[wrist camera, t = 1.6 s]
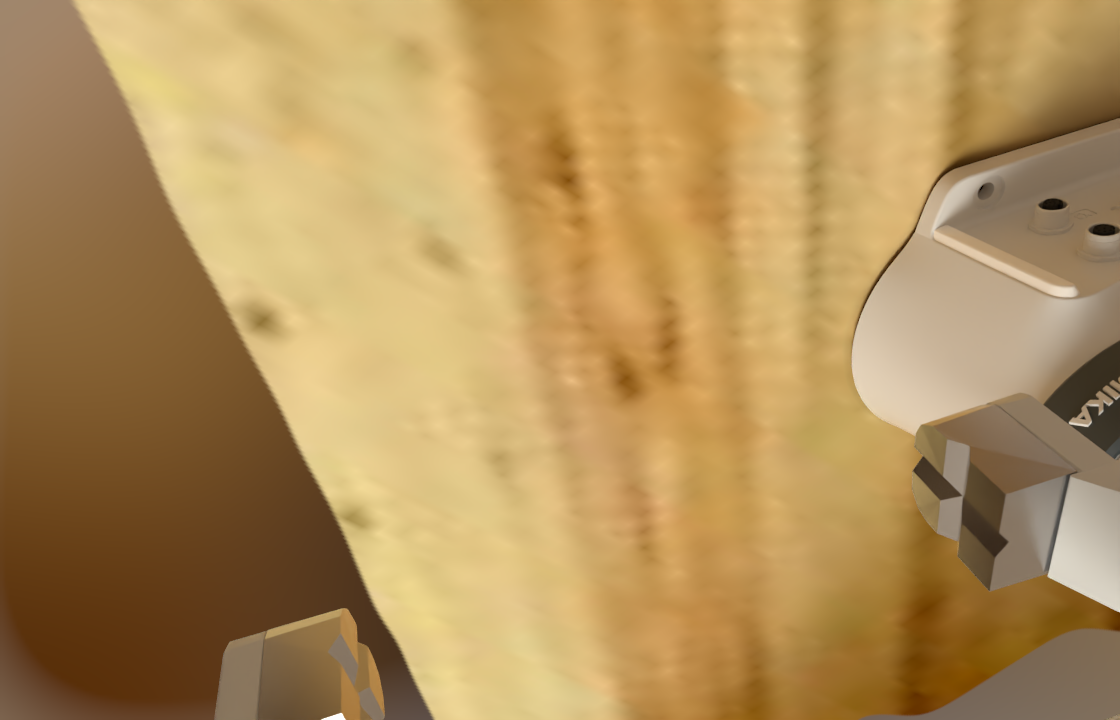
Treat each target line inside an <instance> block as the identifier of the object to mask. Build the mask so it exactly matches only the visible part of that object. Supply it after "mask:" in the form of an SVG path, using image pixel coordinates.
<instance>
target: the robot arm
mask: <svg viewBox="0 0 1120 720" xmlns="http://www.w3.org/2000/svg"><path fill="white" fill-rule="evenodd" d="M983 184H984V186H983V188H982V190H981V191H980V192H979V193H978V191H979V189H980V187H981V186H982V185H983ZM852 371H853V378H854V382H855V385H856V388H857V391H858V393H859V395H860V397H861V399H862V401H863V402H864V403H865V405H866V406H867V407H868V408H869V410H870V411H871V412H872V413H874V414H875V415H876V416H877V417H879V418H880V419H882V420H883V421H885V422H887V423H889V424H891V425H894V426H896V427H898V428H901V429H903V430H905V431H907V432H908V433H910V434H912V435H914V436H915V448H916V449H917V450H918V451H919V452H920V453H921V454H922V455H923V457H922V458H921V460H920V461H919V463H918V464H917V465H916V467H915V468H914V470H913V474H912V490H913V493H914V496H915V499H916V503H917V506H918V508H919V510H920V511H921V513H922V515H923V516H924V518H925V520H926V521H927V522H928V523H929V524H930V526H931V527H932V528H933V529H934V530H935V531H936V533H938V534H940V535H943V536H945V537H948V538H950V539H953V540H956V541H958V557H959V558H960V559H961V560H962V562H963V563H964V564H965V565H966V566H967V567H968V568H969V569H970V570H971V571H972V573H973V574H974V575H975V576H976V577H977V578H978V579H979V580H980V581H981V582H982V584H983V585H984V586H985V587H986V588H987V589H988V590H989V591H993V590H996V589H999V588H1002V587H1006V586H1009V585H1012V584H1015V583H1019V582H1022V581H1025V580H1028V579H1031V578H1035V577H1038V576H1041V575H1044V574H1048V577H1049V578H1051V579H1053V580H1055V581H1057V582H1059V583H1061V584H1063V585H1065V586H1067V587H1069V588H1071V589H1073V590H1075V591H1077V592H1079V593H1081V594H1083V595H1086V596H1088V597H1090V598H1092V599H1094V600H1096V601H1098V602H1100V603H1102V604H1104V605H1106V606H1108V607H1110V608H1112V609H1114V610H1116V611H1118V612H1120V118H1118V119H1115V120H1111V121H1108V122H1105V123H1102V124H1098V125H1095V126H1092V127H1089V128H1085V129H1082V130H1079V131H1076V132H1072V133H1069V134H1066V135H1063V136H1059V137H1056V138H1053V139H1050V140H1047V141H1043V142H1040V143H1037V144H1034V145H1030V146H1027V147H1024V148H1021V149H1017V150H1014V151H1011V152H1008V153H1004V154H1001V155H998V156H995V157H991V158H988V159H985V160H982V161H978V162H975V163H972V164H969V165H965V166H962V167H959V168H956V169H954V170H952V171H950V172H948V173H947V174H945V175H944V176H943V177H942V178H941V179H940V180H939V181H938V183H937V184H936V186H935V187H934V189H933V191H932V192H931V194H930V196H929V198H928V201H927V203H926V205H925V207H924V210H923V212H922V215H921V217H920V220H919V223H918V225H917V228H916V231H915V233H914V234H913V236H912V237H911V239H910V241H909V242H908V243H907V245H906V246H905V247H904V249H903V250H902V251H901V252H900V254H899V255H898V256H897V257H896V259H895V260H894V261H893V262H892V264H891V265H890V266H889V267H888V269H887V270H886V271H885V273H884V274H883V276H882V277H881V278H880V280H879V281H878V283H877V284H876V286H875V288H874V290H873V291H872V293H871V295H870V297H869V299H868V301H867V302H866V304H865V307H864V309H863V311H862V314H861V316H860V319H859V322H858V325H857V328H856V332H855V336H854V341H853V348H852ZM384 717H385V713H384V702H383V693H382V688H381V683H380V678H379V673H378V671H377V668H376V665H375V662H374V659H373V657H372V655H371V653H370V651H369V648H368V647H367V646H366V645H363V644H361V643H358V642H357V625H356V623H355V622H354V620H353V618H352V616H351V614H350V612H349V611H348V609H344V608H342V609H339V610H336V611H332V612H328V613H325V614H322V615H318V616H315V617H311V618H308V619H304V620H301V621H297V622H294V623H290V624H287V625H284V626H280V627H277V628H274V629H270V630H268V631H265V632H262V633H259V634H255V635H252V636H248V637H245V638H241V639H238V640H234V641H231V642H229V644H228V646H227V648H226V650H225V652H224V654H223V661H222V668H221V676H220V683H219V691H218V698H217V705H216V712H215V720H383V718H384ZM1106 720H1120V714H1119V715H1117V716H1114V717H1111V718H1108V719H1106Z"/></svg>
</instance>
